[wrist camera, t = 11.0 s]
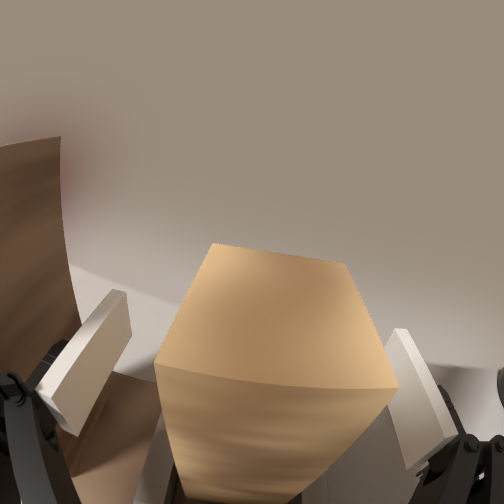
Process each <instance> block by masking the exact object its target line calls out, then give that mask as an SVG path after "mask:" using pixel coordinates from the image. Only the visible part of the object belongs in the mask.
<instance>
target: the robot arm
mask: <svg viewBox="0 0 504 504" xmlns="http://www.w3.org/2000/svg"><path fill="white" fill-rule="evenodd" d="M131 337H132V331H131V325H130V319H129V312H128V305H127V297H126V292H123V291H119V290H114V289H112V290H111V291H110V292H109V294H108V295H107V296H106V297H105V298H104V299H103V301H102V302H101V303H100V304H99V305H98V307H97V308H96V309H95V310H94V311H93V313H92V314H91V315H90V316H89V317H88V319H87V320H86V321H85V322H84V324H83V325H82V326H81V327H80V329H79V330H78V331H77V332H76V334H75V335H74V336H73V338H72V339H71V340H70V341H67V340H64V339H62V340H60V341H59V342H57V343H56V344H54V345H53V346H52V347H51V349H50V350H49V351H48V352H47V355H45V356H44V358H43V359H42V361H41V362H40V363H39V364H38V366H37V367H36V368H35V370H34V371H33V372H32V374H31V375H30V376H29V378H28V379H27V381H26V382H25V383H24V382H23V381H22V379H21V377H20V376H19V375H18V374H17V373H15V372H13V371H6V372H3V373H1V374H0V504H21V501H22V504H82V503H81V501H80V498H79V496H78V494H77V491H76V489H75V486H74V484H73V481H72V479H71V476H70V473H69V470H68V467H67V464H66V461H65V458H64V455H63V452H62V449H61V445H60V442H59V438H58V434H57V431H56V429H55V426H56V424H57V422H58V424H59V425H60V426H61V428H62V429H63V430H65V431H67V432H69V433H71V434H73V435H75V436H77V437H78V436H79V433H80V431H81V429H82V427H83V425H84V423H85V421H86V419H87V417H88V415H89V413H90V411H91V409H92V407H93V405H94V403H95V402H96V400H97V398H98V396H99V394H100V392H101V390H102V388H103V386H104V385H105V383H106V381H107V379H108V377H109V375H110V373H111V372H112V370H113V368H114V366H115V364H116V363H117V361H118V359H119V357H120V356H121V354H122V352H123V350H124V349H125V347H126V345H127V343H128V342H129V340H130V338H131ZM384 349H385V352H386V354H387V357H388V359H389V361H390V364H391V366H392V369H393V371H394V374H395V376H396V379H397V382H398V384H399V387H400V388H399V389H398V391H397V392H396V393H395V395H394V396H393V397H392V399H391V400H390V401H389V403H388V404H387V405H388V409H389V412H390V415H391V418H392V421H393V425H394V428H395V431H396V435H397V438H398V441H399V445H400V449H401V452H402V456H403V460H404V463H405V467H406V470H408V469H412V468H415V467H419V466H421V465H422V464H423V463H425V462H426V461H427V460H428V462H429V465H428V466H426V467H425V468H424V469H422V470H421V471H419V472H418V473H417V474H416V477H418V476H419V475H420V474H422V473H423V475H422V476H421V477H420V481H419V483H418V486H417V488H416V490H415V492H414V494H413V496H412V498H411V500H410V502H409V503H408V504H504V437H503V436H502V435H496V436H494V437H493V438H492V439H491V440H490V441H479V440H478V439H477V437H475V436H474V435H472V434H466V432H465V430H464V428H463V426H462V423H461V421H460V419H459V417H458V414H457V412H456V410H455V409H454V406H453V404H452V402H451V400H450V397H449V395H448V393H447V392H446V391H445V390H444V388H443V387H442V386H441V385H436V383H435V381H434V379H433V377H432V375H431V373H430V371H429V369H428V367H427V365H426V364H425V362H424V360H423V358H422V356H421V354H420V352H419V351H418V349H417V347H416V345H415V343H414V341H413V340H412V338H411V336H410V334H409V333H408V331H407V329H394V331H393V333H392V335H391V337H390V339H389V341H388V343H387V344H386V346H385V348H384ZM498 390H499V395H500V398H501V401H502V403H503V405H504V368H503V369H502V370H501V372H500V374H499V377H498ZM483 472H484V477H483V478H482V479H481V480H480V479H479V475H480V474H482V473H483ZM20 497H21V499H20Z"/></svg>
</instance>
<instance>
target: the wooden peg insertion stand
mask: <svg viewBox="0 0 504 504" xmlns="http://www.w3.org/2000/svg"><path fill="white" fill-rule="evenodd" d="M60 140H61V137H60V136H59V137H49V138H41V139H33V140H26V141H19V142H13V143H8V144H3V145H0V374H1V373H3V372H6V371H13V372H15V373H17V374H18V375H19V376H20V377H21V379H22V381H23V382H24V383H25V382H26V381H27V379H28V378H29V376H30V375H31V374H32V372H33V371H34V370H35V368H36V367H37V366H38V364H39V363H40V362H41V361H42V359H43V358H44V356H45V355H47V352H48V351H49V350H50V349H51V347H52V346H53V345H54V344H56V343H57V342H59V341H60V340H62V339H64V340H67V341H70V340H71V339H72V338H73V336H74V335H75V334H76V332H77V331H78V330H79V329H80V327H81V326H82V324H81V320H80V316H79V312H78V308H77V304H76V300H75V296H74V291H73V287H72V282H71V276H70V271H69V265H68V259H67V253H66V246H65V239H64V230H63V220H62V209H61V192H60ZM55 429H56V431H57V434H58V438H59V442H60V445H61V449H62V452H63V455H64V458H65V461H66V464H67V467H68V470H69V473H70V476H71V479H72V481H73V484H74V486H75V489H76V491H77V494H78V496H79V498H80V501H81V503H82V504H188V502H187V499H186V496H185V493H184V490H183V487H182V484H181V481H180V478H179V474H178V471H177V468H176V464H175V461H174V457H173V454H172V450H171V446H170V442H169V438H168V434H167V430H166V425H165V421H164V417H163V412H162V407H161V402H160V397H159V392H158V386H157V384H154V383H150V382H146V381H143V380H139V379H136V378H132V377H129V376H126V375H122V374H119V373H116V372H113V371H112V372H111V373H110V375H109V377H108V379H107V381H106V383H105V385H104V386H103V388H102V390H101V392H100V394H99V396H98V398H97V400H96V402H95V403H94V405H93V407H92V409H91V411H90V413H89V415H88V417H87V419H86V421H85V423H84V425H83V427H82V429H81V431H80V433H79V436H78V437H77V436H75V435H73V434H71V433H69V432H67V431H65V430H63V429H62V428H61V426H60V425H59V424H58V422H57V424H56V426H55ZM286 504H329V496H328V484H327V473H326V471H325V472H324V473H323V474H322V475H321V476H319V477H318V478H317V479H316V480H315V481H314V482H313V483H311V484H310V485H309V486H308V487H307V488H305V489H304V490H303V491H302V492H300V493H299V494H298V495H297V496H295V497H294V498H293V499H291V500H290V501H289V502H287V503H286Z"/></svg>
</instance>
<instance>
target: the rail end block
mask: <svg viewBox="0 0 504 504" xmlns="http://www.w3.org/2000/svg"><path fill="white" fill-rule="evenodd" d="M154 368H155V375H156V381H157V386H158V392H159V397H160V402H161V407H162V412H163V417H164V421H165V425H166V430H167V434H168V438H169V442H170V446H171V450H172V454H173V457H174V461H175V464H176V468H177V471H178V474H179V478H180V481H181V484H182V487H183V490H184V493H185V496H186V499H187V502H188V504H286V503H287V502H289V501H290V500H291V499H293V498H294V497H295V496H297V495H298V494H299V493H300V492H302V491H303V490H304V489H305V488H307V487H308V486H309V485H310V484H311V483H313V482H314V481H315V480H316V479H317V478H318V477H319V476H321V475H322V474H323V473H324V472H325V471H326V470H327V469H328V468H329V467H330V466H331V465H333V464H334V463H335V462H336V461H337V460H338V459H339V458H340V457H341V456H342V455H343V454H344V453H345V452H346V451H347V450H348V449H349V448H350V447H351V446H352V445H353V444H354V442H355V441H356V440H357V439H358V438H359V437H360V436H361V435H362V434H363V433H364V432H365V430H366V429H367V428H368V427H369V426H370V425H371V423H372V422H373V421H374V420H375V419H376V418H377V416H378V415H379V414H380V413H381V411H382V410H383V409H384V408H385V406H386V405H387V404H388V403H389V401H390V400H391V399H392V397H393V396H394V395H395V393H396V392H397V391H398V389H399V388H400V387H399V384H398V382H397V379H396V376H395V374H394V371H393V369H392V366H391V364H390V361H389V359H388V357H387V354H386V352H385V349H384V347H383V345H382V343H381V340H380V338H379V335H378V333H377V331H376V329H375V326H374V324H373V322H372V320H371V318H370V315H369V314H368V311H367V309H366V307H365V305H364V302H363V300H362V298H361V297H360V294H359V292H358V290H357V288H356V286H355V284H354V282H353V280H352V278H351V276H350V274H349V272H348V270H347V268H346V266H345V264H344V263H338V262H332V261H326V260H319V259H313V258H307V257H300V256H293V255H287V254H281V253H274V252H267V251H261V250H255V249H248V248H242V247H235V246H229V245H222V244H216V243H213V244H212V246H211V248H210V250H209V252H208V254H207V256H206V257H205V259H204V261H203V263H202V265H201V267H200V269H199V271H198V273H197V275H196V277H195V279H194V281H193V283H192V285H191V286H190V289H189V290H188V293H187V294H186V297H185V298H184V301H183V302H182V304H181V306H180V308H179V310H178V312H177V315H176V317H175V319H174V321H173V323H172V325H171V327H170V329H169V331H168V333H167V335H166V337H165V339H164V341H163V343H162V346H161V348H160V350H159V352H158V354H157V356H156V358H155V361H154Z"/></svg>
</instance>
